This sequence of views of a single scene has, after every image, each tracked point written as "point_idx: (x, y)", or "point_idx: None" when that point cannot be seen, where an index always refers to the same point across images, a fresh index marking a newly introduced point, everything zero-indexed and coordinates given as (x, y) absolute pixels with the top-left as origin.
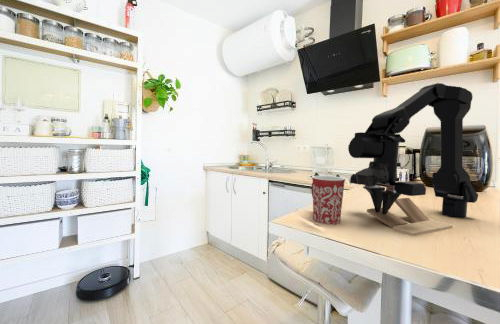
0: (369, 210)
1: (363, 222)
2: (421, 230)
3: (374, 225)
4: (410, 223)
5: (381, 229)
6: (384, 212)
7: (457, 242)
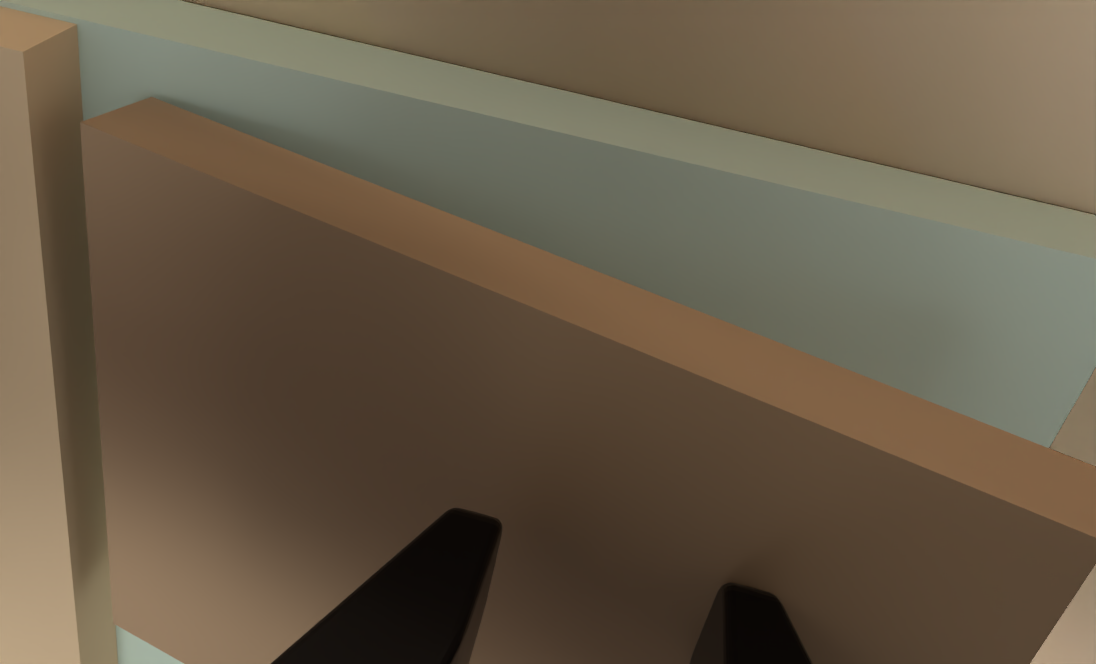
0: (983, 492)
1: (1070, 196)
2: None
3: None
4: (73, 622)
5: (443, 38)
6: (404, 558)
7: None
